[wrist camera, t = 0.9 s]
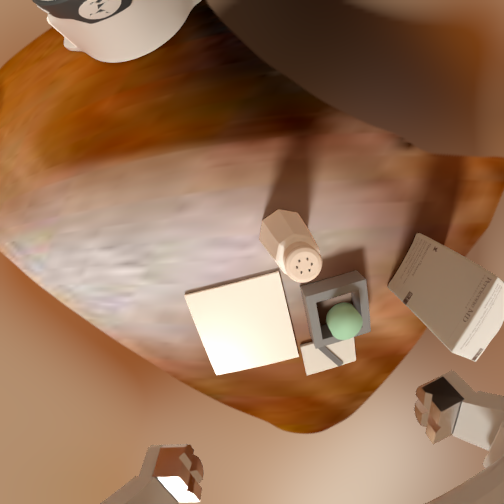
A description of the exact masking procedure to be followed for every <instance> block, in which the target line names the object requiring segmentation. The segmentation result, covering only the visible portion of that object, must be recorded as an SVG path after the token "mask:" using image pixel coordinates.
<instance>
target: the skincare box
mask: <svg viewBox="0 0 504 504" xmlns="http://www.w3.org/2000/svg"><path fill="white" fill-rule="evenodd" d="M388 288H389V289H390V290H391V291H392V292H393V293H394V294H395V295H396V296H397V297H398V298H399V299H400V300H401V301H402V302H403V303H404V304H405V305H406V306H407V307H408V308H409V309H410V310H411V311H412V312H413V313H414V314H415V315H416V316H417V317H418V318H419V319H420V320H421V321H422V322H423V323H424V324H425V325H426V326H427V327H428V328H429V329H430V330H431V332H432V333H433V334H434V335H435V336H436V337H437V338H438V339H439V340H440V341H441V342H442V343H443V344H444V345H445V346H446V347H447V348H448V349H449V350H450V351H451V352H452V353H455V354H457V355H460V356H463V357H466V358H468V359H470V360H472V361H475V362H476V361H477V359H478V358H479V356H480V355H481V354H482V353H483V351H484V350H485V348H486V347H487V345H488V344H489V342H490V341H491V340H492V338H493V337H494V336H495V335H496V333H497V332H498V331H499V329H500V327H501V325H502V323H503V321H504V282H503V281H502V280H501V279H500V278H499V277H497V276H496V275H494V274H493V273H491V272H490V271H488V270H486V269H485V268H483V267H481V266H480V265H478V264H476V263H475V262H473V261H471V260H469V259H468V258H466V257H464V256H462V255H460V254H459V253H457V252H455V251H453V250H451V249H449V248H447V247H446V246H444V245H442V244H440V243H438V242H436V241H434V240H433V239H431V238H429V237H427V236H425V235H423V234H421V233H417V234H416V236H415V238H414V241H413V243H412V245H411V247H410V249H409V251H408V253H407V255H406V257H405V258H404V260H403V262H402V264H401V265H400V267H399V269H398V270H397V272H396V274H395V275H394V277H393V278H392V280H391V281H390V283H389V284H388Z"/></svg>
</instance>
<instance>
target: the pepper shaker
mask: <svg viewBox="0 0 504 504" xmlns="http://www.w3.org/2000/svg"><path fill="white" fill-rule="evenodd" d="M259 240H260V242H261V243H262V244H263V246H264V247H265V248H266V250H267V251H268V253H269V254H270V255H271V257H272V258H273V259H274V260H275V262H276V263H277V264H278V266H279V267H280V268H281V270H282V271H283V272H284V273H285V274H287V275H288V276H289V277H290V278H291V279H292V280H294V281H296V282H301V283H303V282H308V281H311V280H313V279H314V278H316V276H317V275H318V274H319V273H320V271H321V268H322V258H321V255H320V254H319V251H320V250H319V247H318V246H317V244H316V242H315V240H314V238H313V236H312V235H311V233H310V231H309V229H308V227H307V226H306V224H305V223H304V221H303V220H302V218H301V217H300V215H299V214H298V213H297V212H292V211H286V210H281V209H278V210H276V211H275V212H274V213H272V214H271V215H269V216H268V217H266V218H265V219H264V220H262V225H261V230H260V236H259Z"/></svg>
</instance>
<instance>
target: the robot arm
mask: <svg viewBox="0 0 504 504" xmlns="http://www.w3.org/2000/svg"><path fill="white" fill-rule="evenodd" d="M200 1H201V0H33V2H34V3H36V4H37V6H38V7H39V8H40V9H41V10H43V11H44V12H46V13H48V17H47V21H48V22H49V24H50V25H52V26H53V27H54V28H55V29H56V30H57V31H58V32H59V33H61V34H62V35H63V36H64V46H65V47H66V48H67V49H68V50H71V51H83V52H85V53H87V54H88V55H90V56H91V57H93V58H94V59H97V60H99V61H103V62H111V63H112V62H124V61H129V60H132V59H136V58H138V57H141V56H143V55H146V54H148V53H150V52H151V51H153V50H155V49H157V48H158V47H160V46H161V45H163V44H164V43H165V42H167V41H168V40H169V39H170V38H171V37H172V36H173V35H174V34H175V33H176V32H177V31H178V30H179V29H180V28H181V26H182V25H183V23H184V22H185V20H186V19H187V17H188V15H189V13H190V11H191V10H192V8H193V7H194V6H195V5H196V4H198V3H199V2H200ZM416 396H417V397H418V400H417V401H416V403H415V408H414V410H415V416H416V418H417V420H418V422H419V424H420V425H422V426H425V427H427V428H426V434H427V436H428V437H429V439H430V440H431V442H432V443H433V444H435V443H436V442H439V441H441V440H443V439H444V438H447V437H448V436H450V435H452V434H453V436H455V437H457V438H459V439H462V440H464V441H467V442H469V443H471V444H474V445H476V446H479V447H481V448H483V449H486V450H488V453H487V455H486V457H485V459H484V461H483V466H484V467H485V469H484V470H482V471H481V472H479V473H478V474H477V475H475V476H473V477H472V478H470V479H469V480H467V481H466V482H464V483H462V484H461V485H459V486H457V487H455V488H454V489H452V490H450V491H448V492H447V493H445V494H443V495H441V496H439V497H437V498H436V499H433V500H432V501H430V502H428V503H425V504H504V396H500V395H495V394H490V393H485V392H481V391H478V392H477V393H476V392H475V391H474V390H473V389H472V388H471V387H470V386H469V385H468V384H467V383H466V382H465V381H464V380H463V379H462V378H461V377H460V376H459V375H458V374H457V373H456V372H454V371H449V372H448V373H446V374H444V375H442V376H440V377H438V378H436V379H433V380H431V381H430V382H427V383H425V384H423V385H421V386H419V387H418V388H417V390H416ZM193 453H194V449H193V448H192V447H191V445H188V444H186V445H151V446H150V447H149V448H148V450H147V453H146V456H145V459H144V462H143V465H142V468H141V471H140V474H139V477H138V476H137V477H136V476H135V477H134V478H133V479H131V480H130V481H129V482H128V483H127V484H125V485H124V486H123V487H121V488H120V489H119V490H117V491H116V492H115V493H114V494H112V495H111V496H110V497H108V498H107V499H106V500H104V501H103V502H102V503H100V504H178V502H200V499H201V491H202V488H201V486H200V485H199V483H200V482H201V480H203V475H204V472H203V465H202V463H201V460H200V459H199V457H197V456H195V455H193Z"/></svg>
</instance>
